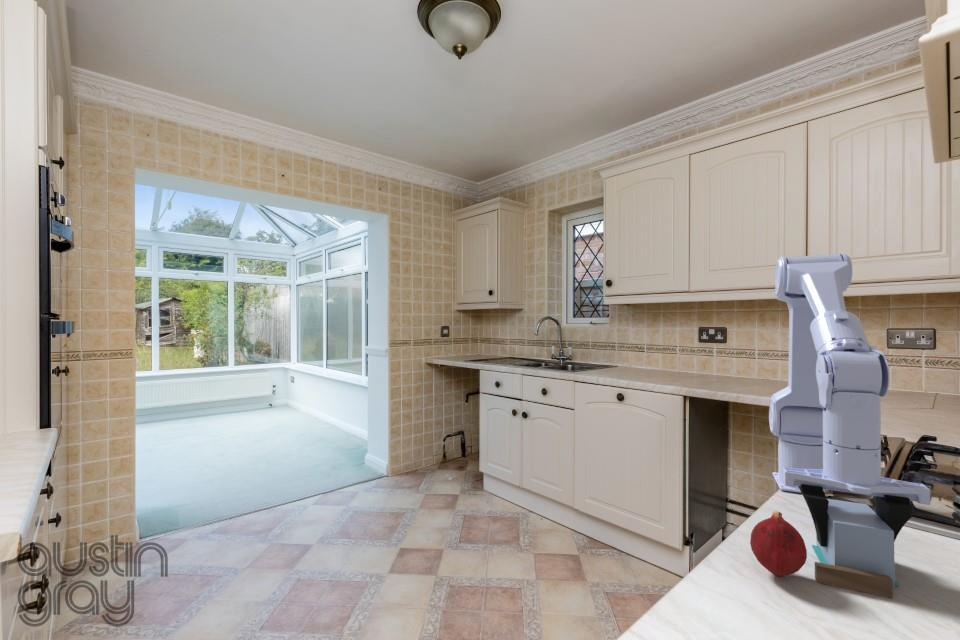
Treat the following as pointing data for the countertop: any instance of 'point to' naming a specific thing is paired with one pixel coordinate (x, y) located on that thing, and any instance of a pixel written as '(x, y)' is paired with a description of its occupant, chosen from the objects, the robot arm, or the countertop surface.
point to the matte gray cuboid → (858, 539)
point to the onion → (778, 546)
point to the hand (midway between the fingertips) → (851, 548)
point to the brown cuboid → (854, 579)
